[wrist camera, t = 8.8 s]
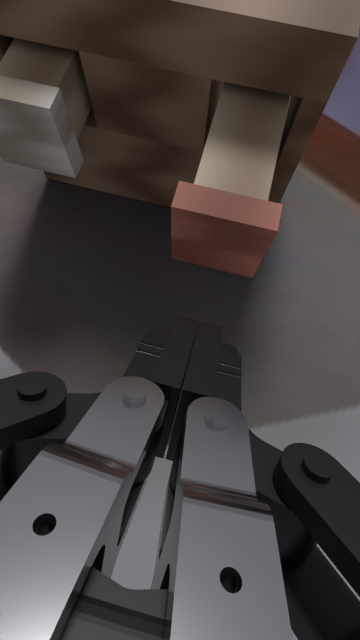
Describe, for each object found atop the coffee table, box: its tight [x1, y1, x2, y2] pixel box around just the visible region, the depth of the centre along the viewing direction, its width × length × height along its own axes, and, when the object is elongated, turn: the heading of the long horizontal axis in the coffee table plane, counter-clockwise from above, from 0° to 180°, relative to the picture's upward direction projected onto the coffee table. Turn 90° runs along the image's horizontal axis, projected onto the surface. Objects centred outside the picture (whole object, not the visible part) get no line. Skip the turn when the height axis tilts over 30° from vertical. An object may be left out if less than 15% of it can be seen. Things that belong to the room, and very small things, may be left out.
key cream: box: [0, 38, 92, 178], centre depth 17 cm, size 4×9×4 cm, turn 165°
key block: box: [0, 0, 360, 207], centre depth 19 cm, size 16×7×12 cm, turn 76°
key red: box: [171, 82, 290, 278], centre depth 16 cm, size 4×9×4 cm, turn 165°
